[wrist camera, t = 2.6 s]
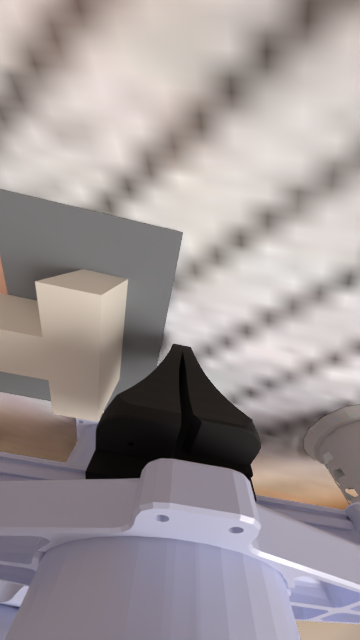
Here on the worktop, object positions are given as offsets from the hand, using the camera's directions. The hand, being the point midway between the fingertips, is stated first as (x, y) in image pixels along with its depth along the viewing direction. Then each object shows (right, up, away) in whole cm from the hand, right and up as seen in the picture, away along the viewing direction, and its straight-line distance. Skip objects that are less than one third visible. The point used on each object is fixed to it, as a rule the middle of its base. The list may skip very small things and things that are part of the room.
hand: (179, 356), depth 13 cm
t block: (-9, +2, +1) cm, 9 cm away
